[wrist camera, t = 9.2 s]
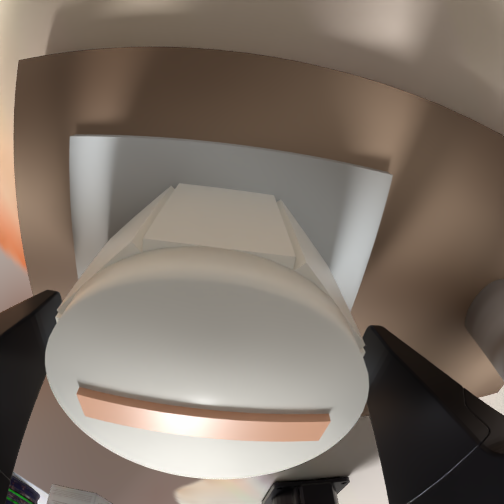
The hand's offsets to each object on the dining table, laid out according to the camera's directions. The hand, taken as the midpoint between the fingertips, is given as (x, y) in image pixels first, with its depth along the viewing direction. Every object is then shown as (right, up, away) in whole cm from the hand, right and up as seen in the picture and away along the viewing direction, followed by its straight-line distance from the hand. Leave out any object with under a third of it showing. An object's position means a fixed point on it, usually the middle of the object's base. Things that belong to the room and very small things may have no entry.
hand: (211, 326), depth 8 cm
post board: (+6, +1, +4) cm, 7 cm away
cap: (0, +1, +1) cm, 1 cm away
